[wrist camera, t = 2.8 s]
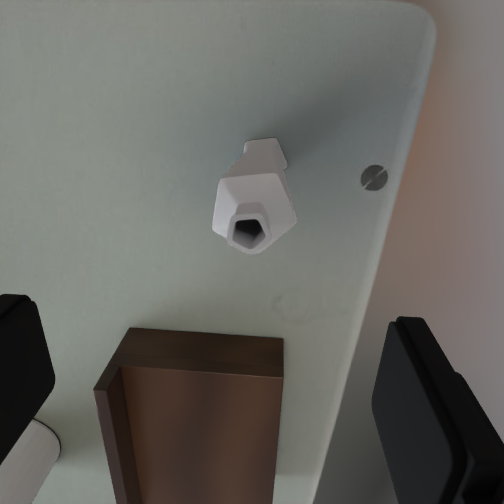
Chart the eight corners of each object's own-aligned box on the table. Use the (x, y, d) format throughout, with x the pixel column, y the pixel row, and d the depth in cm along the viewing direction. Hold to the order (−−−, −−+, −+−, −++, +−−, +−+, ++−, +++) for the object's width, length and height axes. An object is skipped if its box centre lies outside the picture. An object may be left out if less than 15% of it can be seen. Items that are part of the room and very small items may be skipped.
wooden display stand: (283, 338, 39) (283, 405, 31) (271, 476, 48) (269, 552, 41) (129, 327, 39) (92, 389, 32) (148, 465, 49) (123, 538, 42)
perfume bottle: (264, 117, 29) (249, 161, 16) (300, 160, 31) (315, 233, 17) (222, 157, 31) (176, 227, 18) (258, 196, 32) (242, 289, 19)
